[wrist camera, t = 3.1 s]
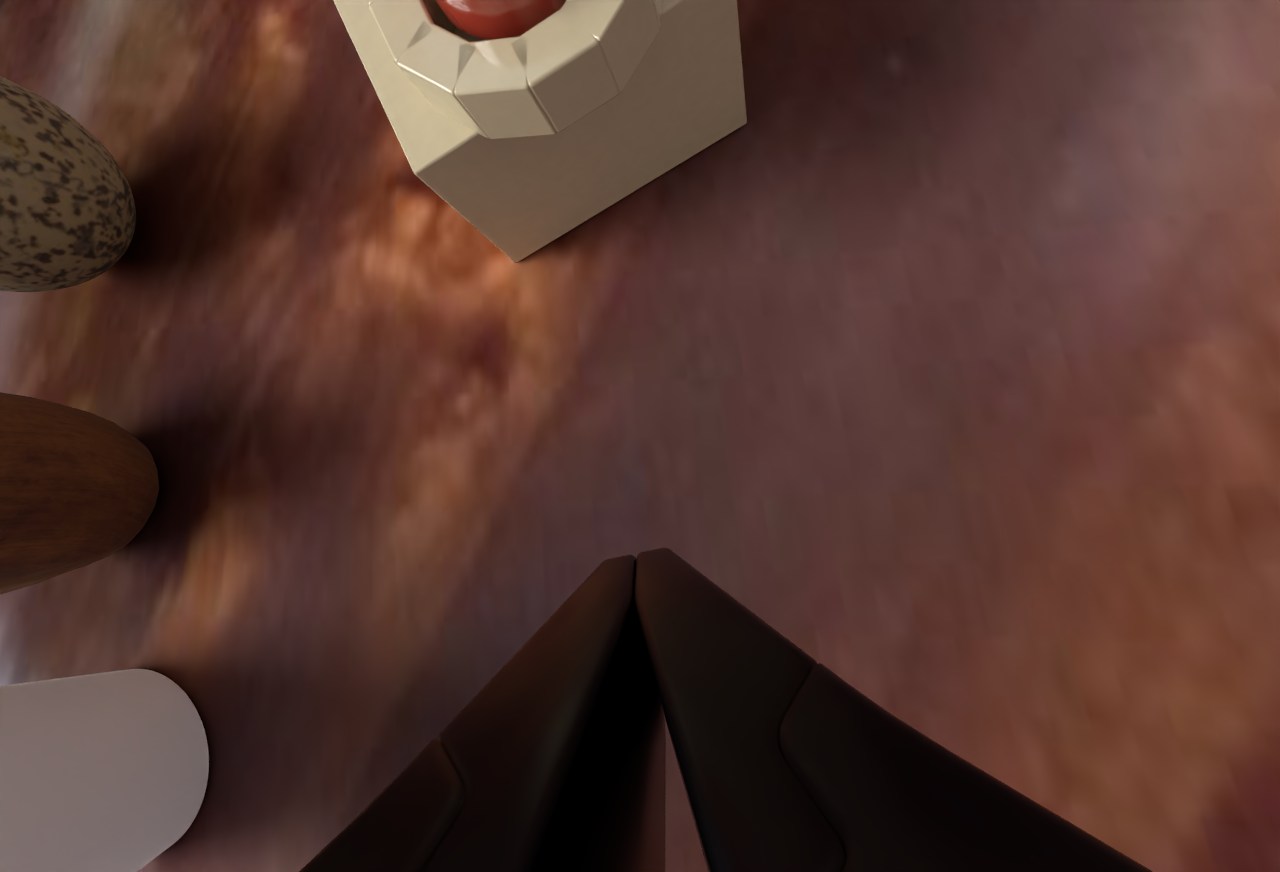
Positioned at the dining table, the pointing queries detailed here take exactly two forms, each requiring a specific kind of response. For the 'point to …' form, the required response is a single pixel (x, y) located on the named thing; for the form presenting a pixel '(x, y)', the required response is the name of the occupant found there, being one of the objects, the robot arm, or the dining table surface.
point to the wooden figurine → (66, 489)
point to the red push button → (497, 15)
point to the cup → (97, 771)
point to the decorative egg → (56, 197)
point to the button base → (551, 104)
